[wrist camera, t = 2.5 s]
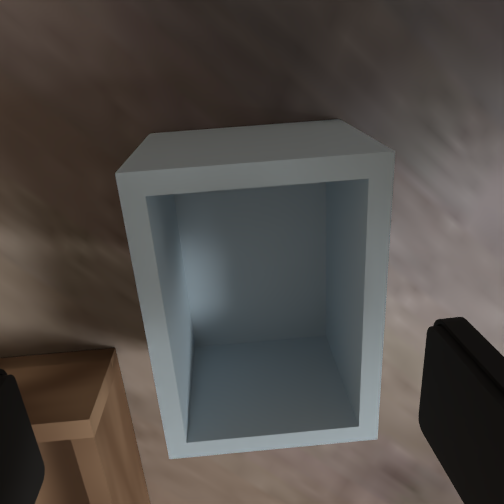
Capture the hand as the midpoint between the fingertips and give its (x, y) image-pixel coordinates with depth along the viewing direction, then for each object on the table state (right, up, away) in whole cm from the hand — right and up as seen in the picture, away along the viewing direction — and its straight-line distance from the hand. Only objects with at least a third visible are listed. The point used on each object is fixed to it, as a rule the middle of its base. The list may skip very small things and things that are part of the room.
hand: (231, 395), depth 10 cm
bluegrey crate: (+1, +3, +7) cm, 8 cm away
